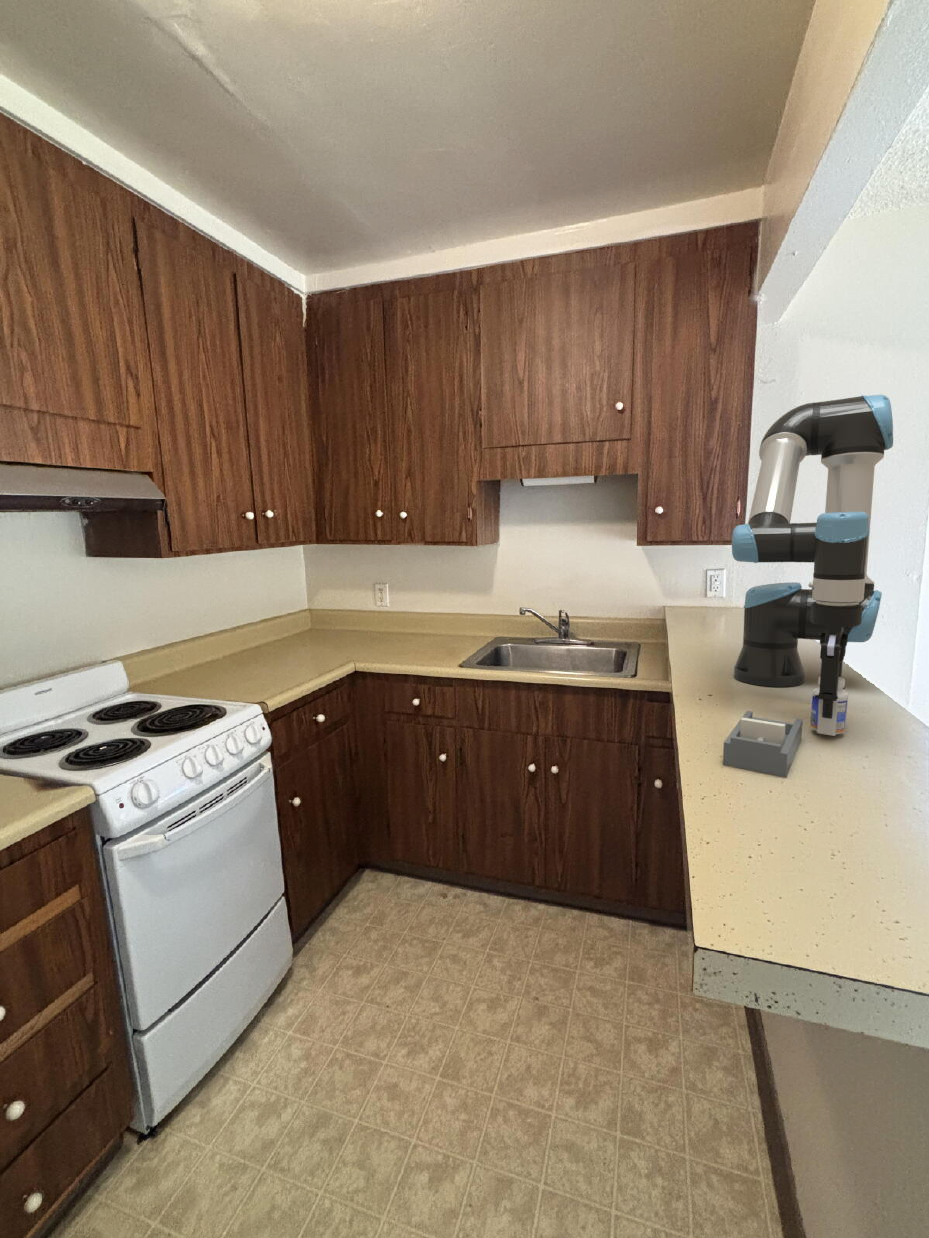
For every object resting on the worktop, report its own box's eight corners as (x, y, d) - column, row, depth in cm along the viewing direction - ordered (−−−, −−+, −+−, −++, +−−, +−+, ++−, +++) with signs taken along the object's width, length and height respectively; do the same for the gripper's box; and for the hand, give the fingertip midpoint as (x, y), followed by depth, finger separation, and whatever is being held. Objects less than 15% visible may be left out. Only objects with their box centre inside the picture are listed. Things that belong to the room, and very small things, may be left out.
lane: (746, 730, 106) (747, 705, 105) (801, 739, 100) (803, 713, 99) (722, 764, 91) (723, 736, 91) (786, 777, 86) (787, 747, 85)
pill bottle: (812, 722, 106) (816, 672, 104) (847, 727, 103) (851, 676, 101) (807, 731, 102) (811, 679, 100) (843, 737, 98) (847, 684, 97)
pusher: (741, 745, 96) (742, 717, 95) (783, 753, 92) (785, 724, 91) (734, 755, 92) (736, 726, 91) (779, 763, 88) (780, 733, 88)
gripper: (817, 593, 107) (809, 709, 112) (804, 609, 93) (797, 741, 97) (865, 595, 103) (855, 716, 107) (860, 612, 89) (849, 750, 93)
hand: (827, 727), depth 102 cm, fingers closed on pill bottle, 5 cm apart
